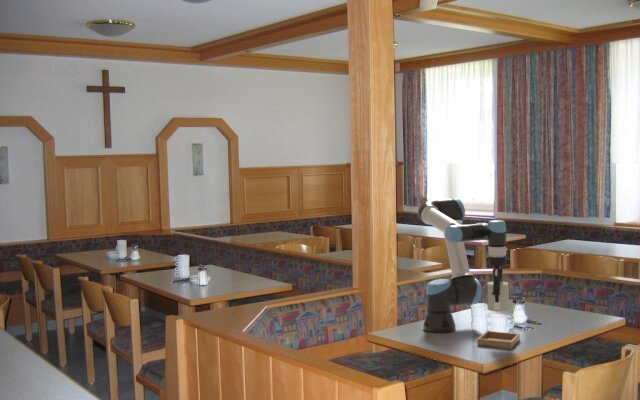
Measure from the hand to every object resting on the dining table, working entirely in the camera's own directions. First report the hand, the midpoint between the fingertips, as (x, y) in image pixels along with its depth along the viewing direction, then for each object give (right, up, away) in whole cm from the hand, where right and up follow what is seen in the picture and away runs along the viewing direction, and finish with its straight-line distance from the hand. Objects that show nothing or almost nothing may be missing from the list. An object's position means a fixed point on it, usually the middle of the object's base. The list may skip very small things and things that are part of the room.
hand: (498, 307), depth 305 cm
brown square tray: (+1, -16, +1) cm, 16 cm away
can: (0, -1, 0) cm, 1 cm away
